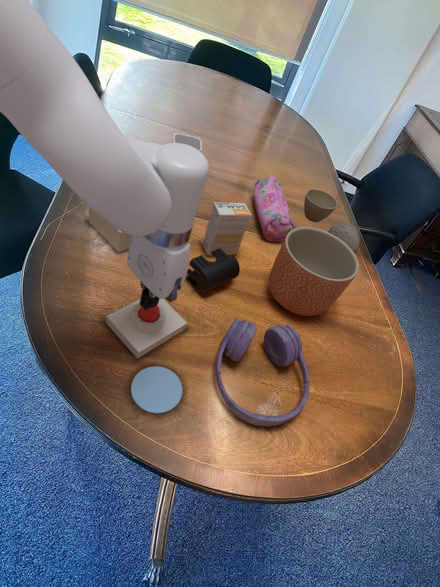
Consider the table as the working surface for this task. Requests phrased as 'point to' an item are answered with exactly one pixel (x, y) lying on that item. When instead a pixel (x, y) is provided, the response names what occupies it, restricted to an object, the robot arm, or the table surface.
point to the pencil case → (272, 209)
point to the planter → (311, 271)
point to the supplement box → (226, 227)
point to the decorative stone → (346, 234)
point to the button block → (145, 327)
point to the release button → (149, 314)
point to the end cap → (212, 271)
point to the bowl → (318, 205)
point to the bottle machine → (110, 232)
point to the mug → (188, 140)
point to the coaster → (156, 390)
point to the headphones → (281, 350)
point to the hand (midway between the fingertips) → (148, 304)
